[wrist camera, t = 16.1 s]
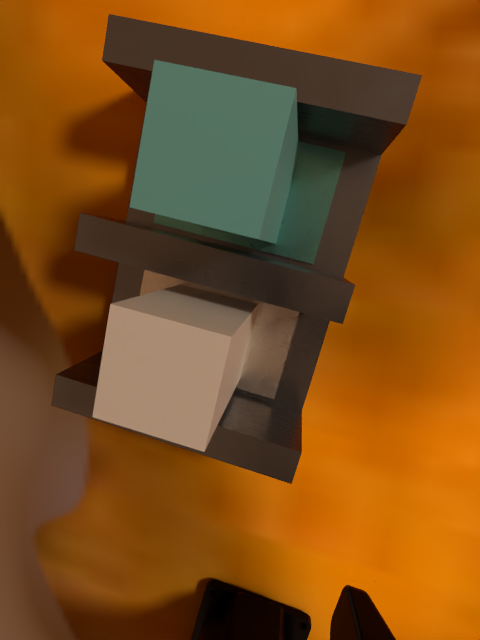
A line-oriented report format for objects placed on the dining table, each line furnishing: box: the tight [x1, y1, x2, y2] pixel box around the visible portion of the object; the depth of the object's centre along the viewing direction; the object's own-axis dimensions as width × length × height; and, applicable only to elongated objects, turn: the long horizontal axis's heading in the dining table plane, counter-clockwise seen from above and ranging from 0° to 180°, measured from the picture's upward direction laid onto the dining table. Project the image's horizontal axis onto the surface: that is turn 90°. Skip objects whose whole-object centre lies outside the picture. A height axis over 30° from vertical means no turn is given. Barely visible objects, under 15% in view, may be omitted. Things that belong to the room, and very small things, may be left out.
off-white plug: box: [92, 284, 258, 452], centre depth 15 cm, size 4×4×7 cm
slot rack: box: [52, 14, 422, 484], centre depth 17 cm, size 18×11×5 cm, turn 166°
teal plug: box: [130, 60, 299, 244], centre depth 14 cm, size 4×4×7 cm
